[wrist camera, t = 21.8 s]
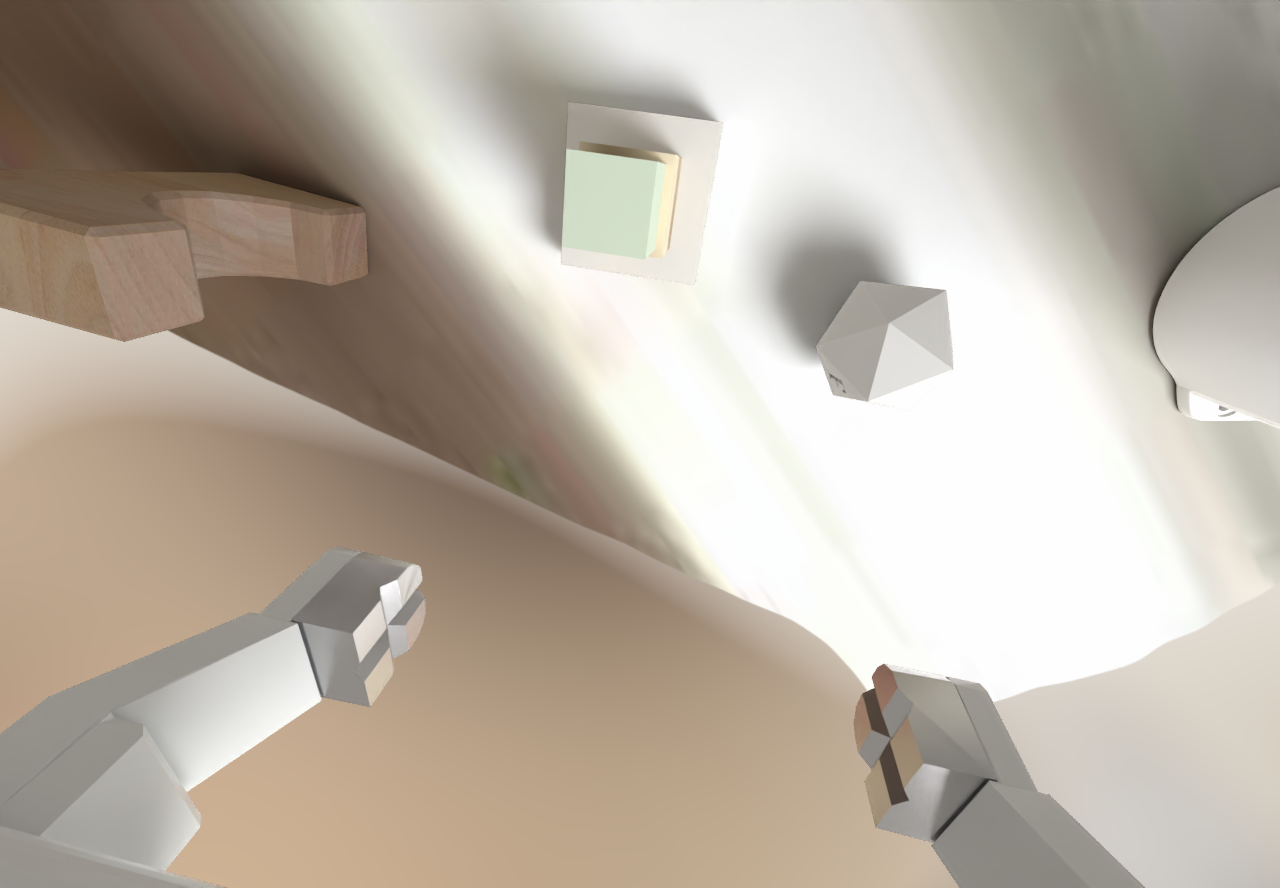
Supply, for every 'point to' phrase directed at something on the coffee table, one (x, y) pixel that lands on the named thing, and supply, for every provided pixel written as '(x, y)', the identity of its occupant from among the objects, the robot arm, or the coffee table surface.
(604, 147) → the beech cube
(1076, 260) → the coffee table surface
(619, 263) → the foundation slab
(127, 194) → the decorative block
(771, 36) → the coffee table surface
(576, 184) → the sage cube
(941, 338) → the die
